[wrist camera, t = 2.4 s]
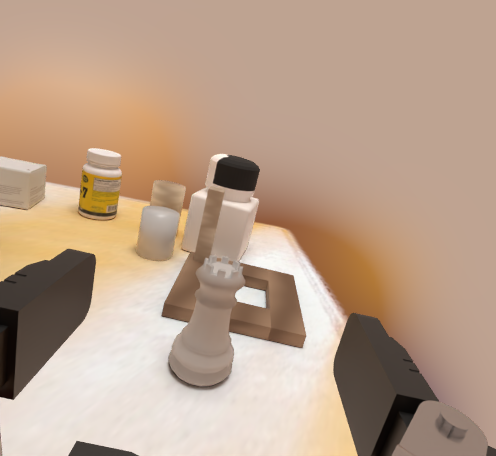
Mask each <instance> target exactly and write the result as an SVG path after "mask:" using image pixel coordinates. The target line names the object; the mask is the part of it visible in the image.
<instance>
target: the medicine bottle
mask: <svg viewBox="0 0 496 456" xmlns="http://www.w3.org/2000/svg"><path fill="white" fill-rule="evenodd" d="M259 171H260V169H259V167H258V166H257V165H256V164H255V163H254V162H252V161H249V160H247V159H244V158H241V157H237V156H232V155H226V154H218V155H214V156H213V157H211V160H210V165H209V169H208V174H207V179H206V183H205V185H206V186H207V187H206V188H205V189H203V190H200V191H198V192H196V193H194V194H193V195H192V197H191V202H190V207H189V212H188V217H187V222H186V227H185V232H184V237H183V242H182V249H183V250H186V251H189V252H191V251H192V252H195V250H196V245H197V241H198V236H199V231H200V226H201V222H202V217H203V212H204V207H205V203H206V198H207V193H208V189H209V187H210V186H213V187H217V188H221V189H225V193H224V198H223V202H222V207H221V211H220V215H219V220H218V224H217V229H216V233H215V238H214V242H213V247H212V251H211V255H216V256H217V258H221V259H222V256H226V257H230V258H229V260H230V261H234V260H237V261H239V260H240V258H241V257H242V255H243V253H244V252H245V250H246V249H247V247H248V243H249V239H250V235H251V232H252V228H253V224H254V220H255V216H256V212H257V208H258V204H259V200H258V199H256V198H253V197H252V196H253V195H254V191H255V187H256V183H257V179H258V175H259ZM211 255H210V256H211Z"/></svg>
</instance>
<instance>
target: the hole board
mask: <svg viewBox="0 0 496 456" xmlns="http://www.w3.org/2000/svg"><path fill="white" fill-rule="evenodd" d="M224 193H225V189H221V188H217V187H213V186H210V187H209V189H208V193H207V198H206V203H205V207H204V212H203V217H202V222H201V226H200V231H199V236H198V241H197V245H196V250H195V252H192V251H191V252H190V254H189V256H188V258H187V260H186V262H185V264H184V266H183V268H182V270H181V271H180V273H179V275H178V277H177V279H176V281H175V283H174V285H173V287H172V289H171V291H170V293H169V295H168V297H167V299H166V301H165V303H164V307H163V312H162V316H164V317H169V318H173V319H178V320H182V321H186V322H189V321H190V319H191V317H192V314H193V311H194V309H195V305H196V297H195V292H196V290H198V289H199V288H200V282H199V280H198V278H197V276H196V271H197V269H198V268H200V267H201V266H202V265H204V260H205V258H208V259H209V256H210V255H211V251H212V247H213V242H214V238H215V233H216V229H217V224H218V220H219V215H220V211H221V207H222V202H223V198H224ZM221 260H222V259H221V258H217V262H221ZM228 264H231V265H232V264H233V261H230V260H229V262H228ZM240 266H243V271H242V275H243V277H244V279H245V285H244V286H248V287H252V288H256V289H261V290H265V291H266V308H262V307H258V306H253V305H249V304H245V303H240V302H237V303H236V305H235V306H234V307H233V308H232V311H231V314H230V323H229V331H230V332H235V333H239V334H244V335H248V336H252V337H257V338H261V339H266V340H270V341H274V342H279V343H283V344H288V345H292V346H296V347H301V348H302V347H303V344H304V341H305V338H306V332H305V328H304V323H303V318H302V314H301V309H300V304H299V300H298V295H297V290H296V285H295V281H294V276H293V275H289V274H285V273H281V272H277V271H272V270H268V269H264V268H260V267H255V266H251V265H247V264H243V263H241V264H240Z"/></svg>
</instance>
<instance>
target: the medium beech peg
mask: <svg viewBox="0 0 496 456" xmlns="http://www.w3.org/2000/svg"><path fill="white" fill-rule="evenodd" d="M185 190H186V187H185V186H183V185H181V184H178V183H175V182H170V181H162V180H157V181H154V185H153V191H152V197H151V203H150V206H161V207H166V208H170V209H173V210H175V211H177V212H178V213H179V214H180V216H181V210H182V205H183V200H184V195H185ZM179 221H180V217H179ZM178 226H179V222H178ZM177 231H178V227H177ZM176 236H177V233H176Z"/></svg>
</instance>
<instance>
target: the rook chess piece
mask: <svg viewBox="0 0 496 456" xmlns="http://www.w3.org/2000/svg"><path fill="white" fill-rule="evenodd" d="M229 258H230V257H226V256H222V260H221V262H217V256H216V255H211V256H209V259H208V258H205V260H204V265H202V266H201V267H200V268H198V269H197V271H196V276H197V278H198V280H199V282H200V288H199V289H198V290H196V292H195V297H196V305H195V309H194V311H193V314H192V317H191V319H190V321H189V323H188V325H187V326H186V327H184V328H183V330H182V332H181V333H180V334H178V335H177V336H176V338H175V340H174V343H173V345H172V350H171V352H170V355H169V357H168V358H169V363H170V367H171V368H172V370H173V371H174V372H175V374H176V375H177V376H178V377H179V378H180V379H181V380H183V381H185V382H186V383H188V384H191V385H196V386H200V387H201V386H212V385H214V384H217V383H219V382H221V381H223V380H224V379H225V378H226V377H227V376H228V375H229V374H230V373H231V368H232V362H233V356H234V348H233V346H232V344H231V338H230V336H229V323H230V314H231V311H232V308H233V307H234V306H235V305H236V303H237V300H236V298H235V293H236V292H237V291H238V290H239V289H241V288H242V287H243V286H244V285H245V279H244V277H243V275H242V271H243V266H240V264H241V263H240V262H238V261H237V260H234V261H233V264H232V265H231V264H228V262H229Z"/></svg>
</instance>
